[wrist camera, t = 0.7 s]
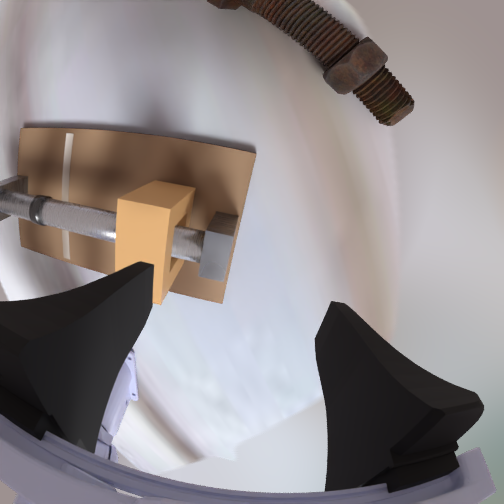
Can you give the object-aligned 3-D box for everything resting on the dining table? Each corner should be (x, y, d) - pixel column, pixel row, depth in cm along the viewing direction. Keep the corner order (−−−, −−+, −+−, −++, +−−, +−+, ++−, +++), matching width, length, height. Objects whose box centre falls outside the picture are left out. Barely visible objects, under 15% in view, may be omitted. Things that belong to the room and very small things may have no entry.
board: (256, 153, 18) (256, 154, 18) (223, 299, 23) (222, 304, 22) (24, 127, 17) (20, 128, 16) (24, 244, 21) (20, 246, 21)
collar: (195, 187, 18) (170, 209, 13) (183, 263, 21) (160, 305, 15) (155, 180, 18) (117, 198, 13) (147, 254, 20) (115, 292, 15)
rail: (239, 213, 20) (233, 237, 15) (231, 250, 21) (223, 283, 17) (22, 173, 19) (-13, 185, 14) (22, 203, 20) (-11, 219, 15)
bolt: (371, 121, 19) (229, 1, 14) (418, 88, 15) (267, -41, 11) (375, 150, 15) (190, -2, 11) (437, 107, 11) (238, -59, 7)
